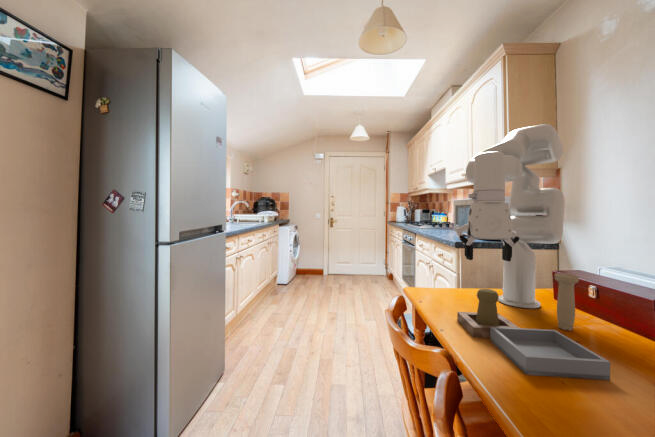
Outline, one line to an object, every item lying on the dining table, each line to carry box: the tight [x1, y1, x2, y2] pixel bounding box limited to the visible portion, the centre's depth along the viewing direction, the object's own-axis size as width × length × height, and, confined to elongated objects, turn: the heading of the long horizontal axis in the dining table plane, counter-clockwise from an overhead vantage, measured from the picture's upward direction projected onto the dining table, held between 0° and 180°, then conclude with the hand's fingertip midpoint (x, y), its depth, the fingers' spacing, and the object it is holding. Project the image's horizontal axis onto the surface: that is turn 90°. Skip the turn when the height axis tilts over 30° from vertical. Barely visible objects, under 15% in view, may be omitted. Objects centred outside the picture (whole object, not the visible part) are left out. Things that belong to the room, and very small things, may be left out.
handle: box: [554, 272, 580, 332], centre depth 77 cm, size 5×6×15 cm
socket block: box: [456, 311, 520, 339], centre depth 77 cm, size 12×12×2 cm
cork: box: [476, 288, 500, 326], centre depth 77 cm, size 6×6×11 cm
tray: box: [489, 327, 611, 381], centre depth 61 cm, size 15×15×4 cm
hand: (487, 260), depth 76 cm, fingers open, 9 cm apart
